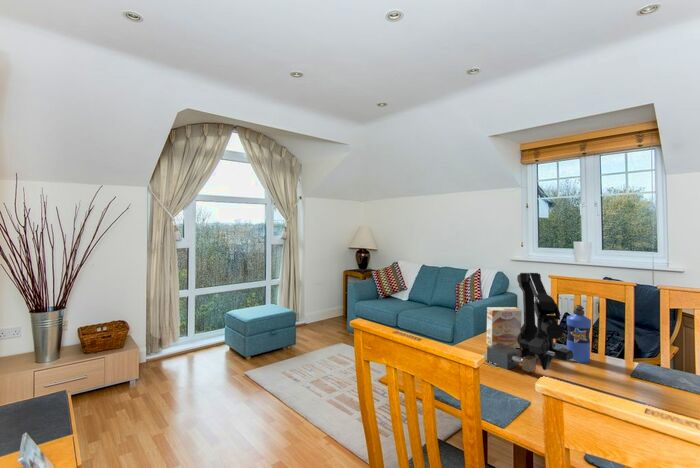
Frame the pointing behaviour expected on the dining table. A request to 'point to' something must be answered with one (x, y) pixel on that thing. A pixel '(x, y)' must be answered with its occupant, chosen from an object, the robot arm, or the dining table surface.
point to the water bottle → (579, 335)
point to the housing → (502, 355)
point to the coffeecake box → (503, 326)
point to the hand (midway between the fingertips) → (544, 369)
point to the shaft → (526, 362)
